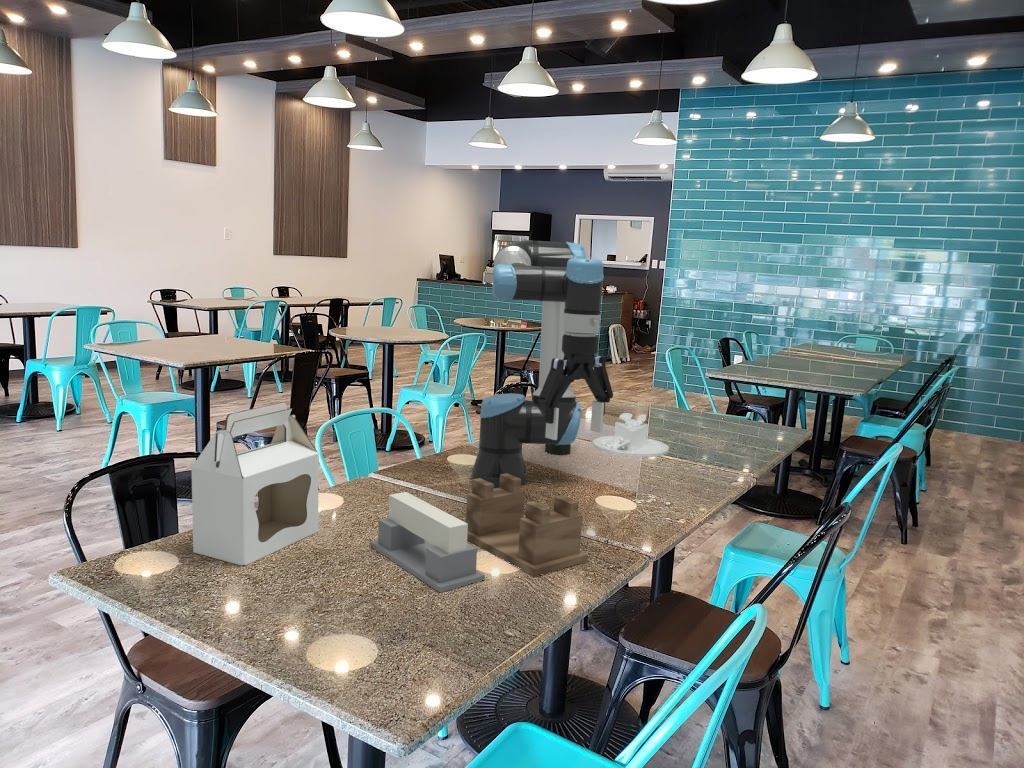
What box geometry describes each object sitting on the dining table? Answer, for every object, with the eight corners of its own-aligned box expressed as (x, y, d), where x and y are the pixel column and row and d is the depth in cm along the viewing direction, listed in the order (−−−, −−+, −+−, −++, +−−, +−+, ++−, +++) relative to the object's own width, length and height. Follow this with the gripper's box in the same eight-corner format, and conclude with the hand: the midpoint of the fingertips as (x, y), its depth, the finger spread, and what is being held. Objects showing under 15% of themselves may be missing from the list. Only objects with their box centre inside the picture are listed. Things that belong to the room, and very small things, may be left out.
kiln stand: (370, 546, 156) (370, 518, 155) (412, 536, 163) (412, 509, 162) (439, 592, 137) (441, 561, 136) (484, 580, 143) (486, 549, 142)
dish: (593, 436, 265) (595, 405, 263) (666, 442, 262) (669, 410, 260) (590, 454, 241) (593, 419, 239) (671, 460, 238) (674, 425, 236)
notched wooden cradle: (457, 534, 165) (459, 479, 163) (508, 523, 174) (510, 470, 172) (535, 577, 145) (538, 514, 143) (587, 561, 154) (591, 502, 152)
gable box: (243, 567, 143) (241, 422, 139) (191, 553, 149) (188, 412, 144) (319, 531, 163) (320, 403, 159) (271, 520, 169) (271, 395, 164)
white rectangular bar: (388, 518, 156) (389, 494, 155) (405, 515, 158) (406, 491, 157) (448, 553, 139) (449, 527, 138) (466, 549, 141) (467, 523, 141)
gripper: (549, 338, 146) (543, 445, 149) (634, 334, 162) (626, 431, 166) (523, 334, 152) (518, 437, 155) (607, 331, 168) (601, 425, 171)
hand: (574, 435), depth 160 cm, fingers open, 13 cm apart
